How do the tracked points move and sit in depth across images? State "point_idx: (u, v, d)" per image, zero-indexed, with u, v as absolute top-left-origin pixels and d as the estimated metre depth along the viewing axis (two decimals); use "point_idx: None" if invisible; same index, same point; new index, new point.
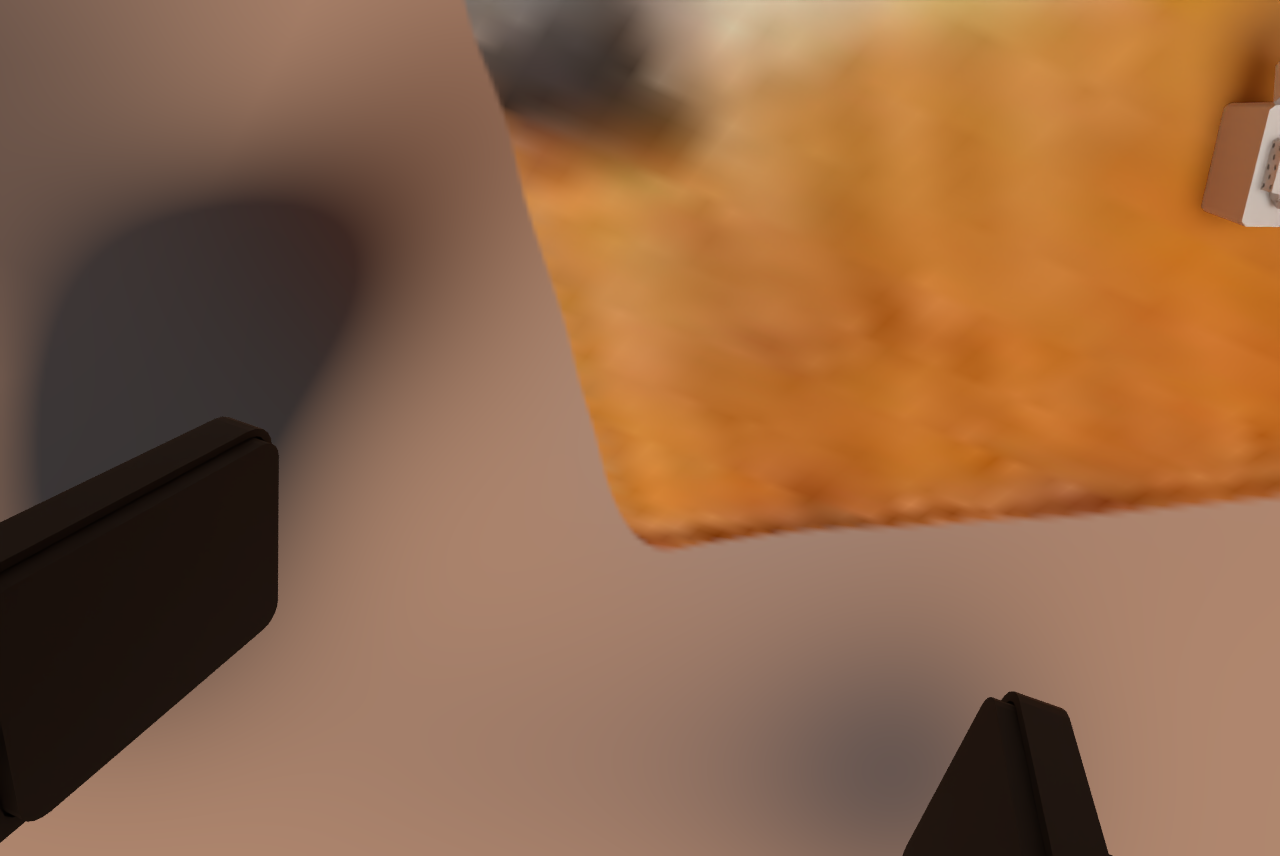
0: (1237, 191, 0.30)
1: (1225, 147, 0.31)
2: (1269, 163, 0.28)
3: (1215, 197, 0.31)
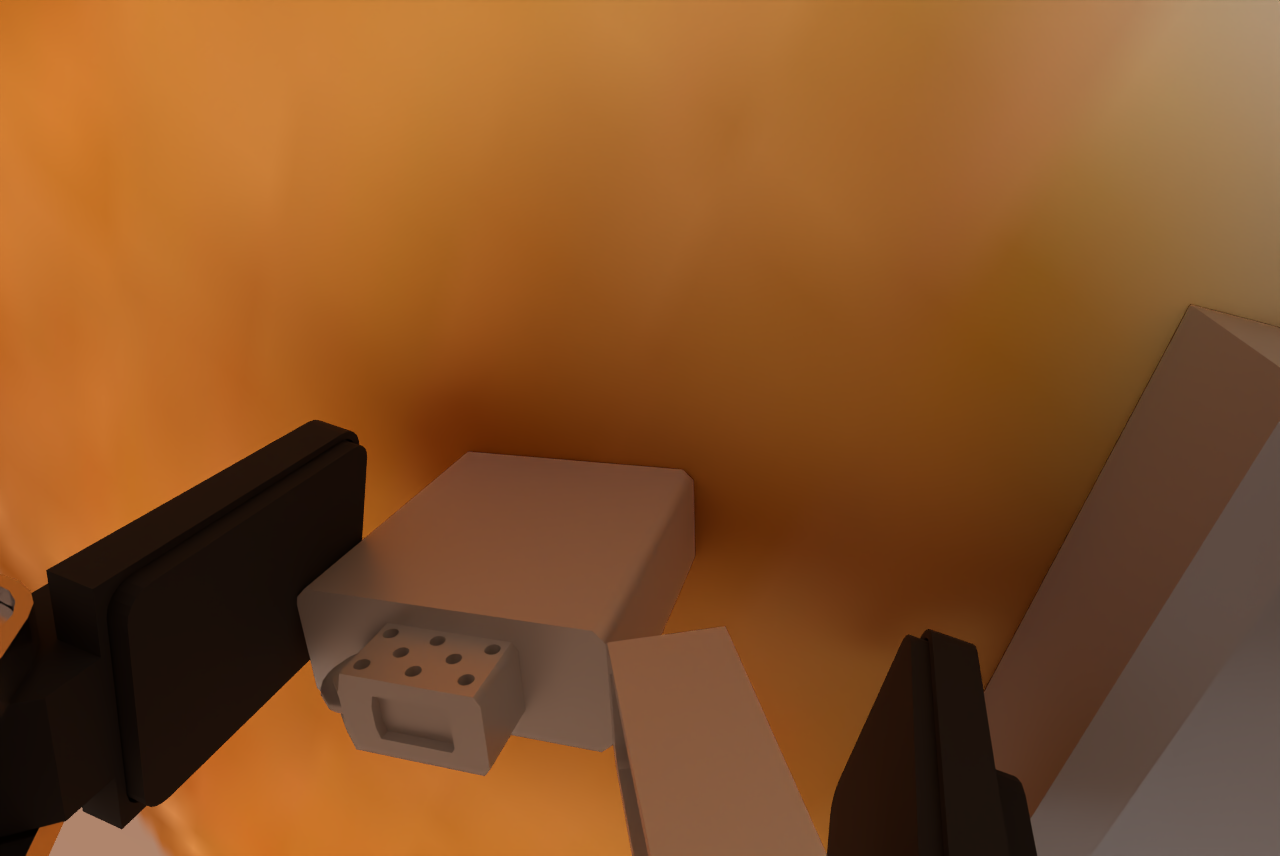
0: (415, 555, 0.10)
1: (574, 492, 0.12)
2: (444, 645, 0.09)
3: (457, 487, 0.12)
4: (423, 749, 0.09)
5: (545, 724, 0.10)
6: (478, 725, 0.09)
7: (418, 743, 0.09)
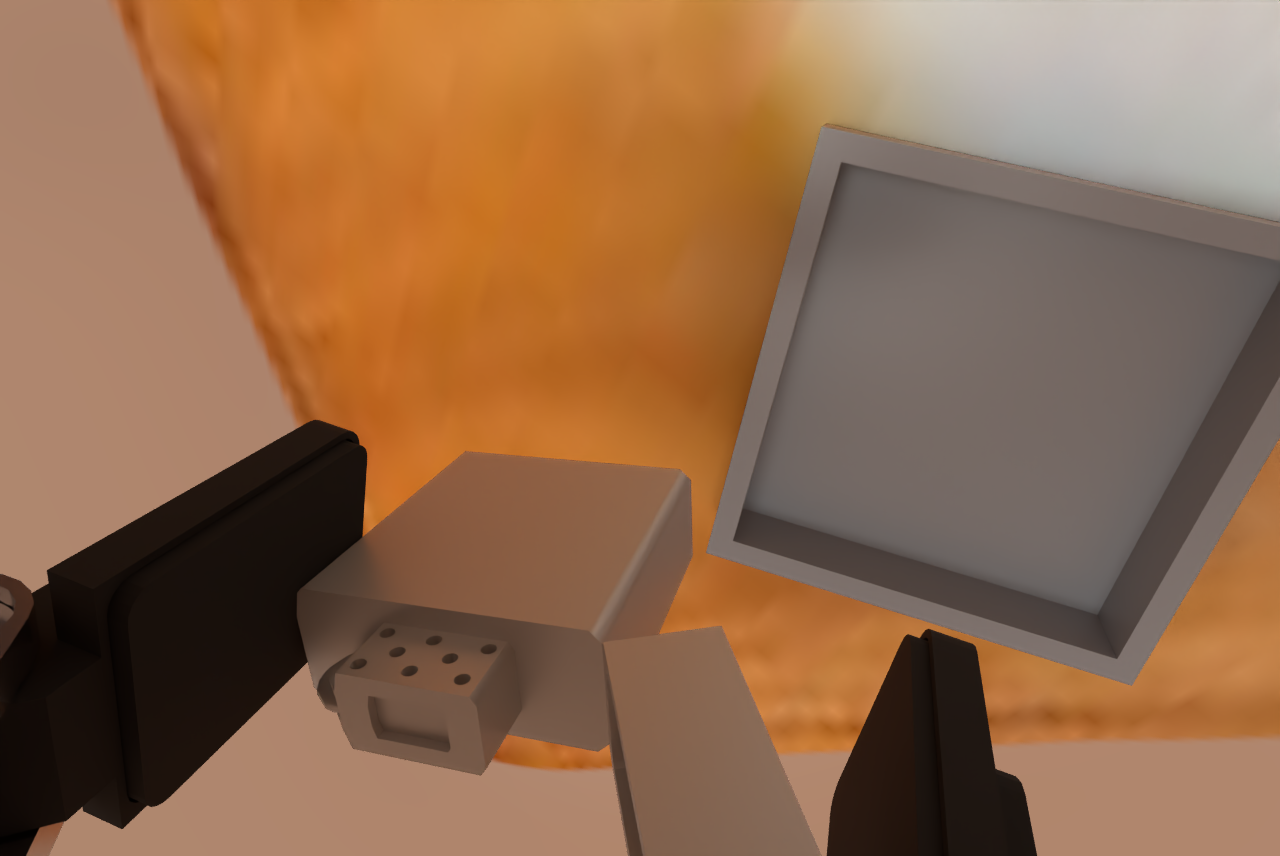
0: (411, 555, 0.10)
1: (571, 492, 0.12)
2: (440, 644, 0.09)
3: (454, 487, 0.12)
4: (419, 748, 0.09)
5: (541, 724, 0.10)
6: (474, 724, 0.09)
7: (414, 742, 0.09)
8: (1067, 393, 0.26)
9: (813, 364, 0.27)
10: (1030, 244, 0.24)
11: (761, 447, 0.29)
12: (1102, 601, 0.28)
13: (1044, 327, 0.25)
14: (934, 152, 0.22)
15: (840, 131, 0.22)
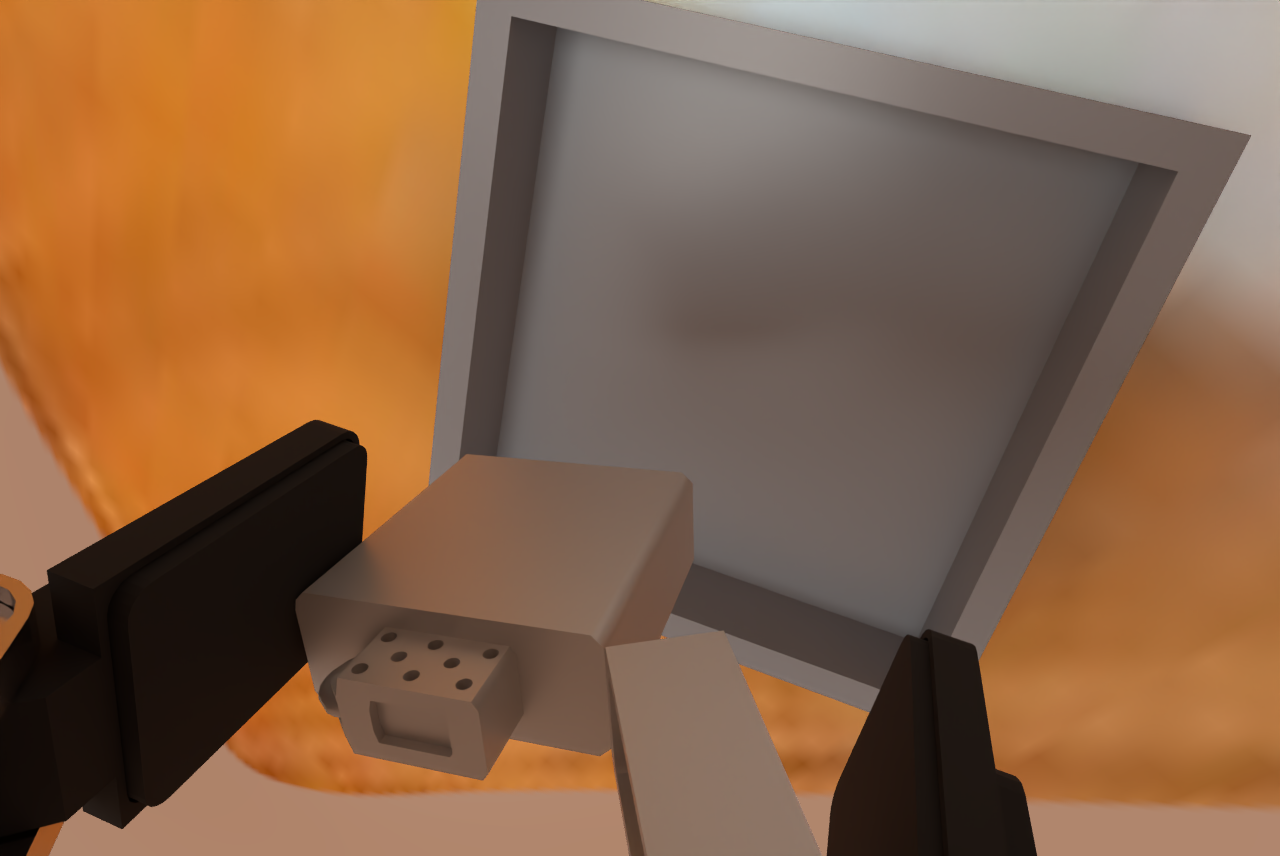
0: (413, 558, 0.10)
1: (573, 494, 0.12)
2: (442, 649, 0.09)
3: (456, 489, 0.12)
4: (421, 753, 0.09)
5: (544, 729, 0.10)
6: (476, 730, 0.09)
7: (416, 747, 0.09)
8: (859, 351, 0.19)
9: (551, 309, 0.21)
10: (798, 145, 0.18)
11: (502, 416, 0.23)
12: (922, 624, 0.22)
13: (824, 261, 0.19)
14: None
15: None
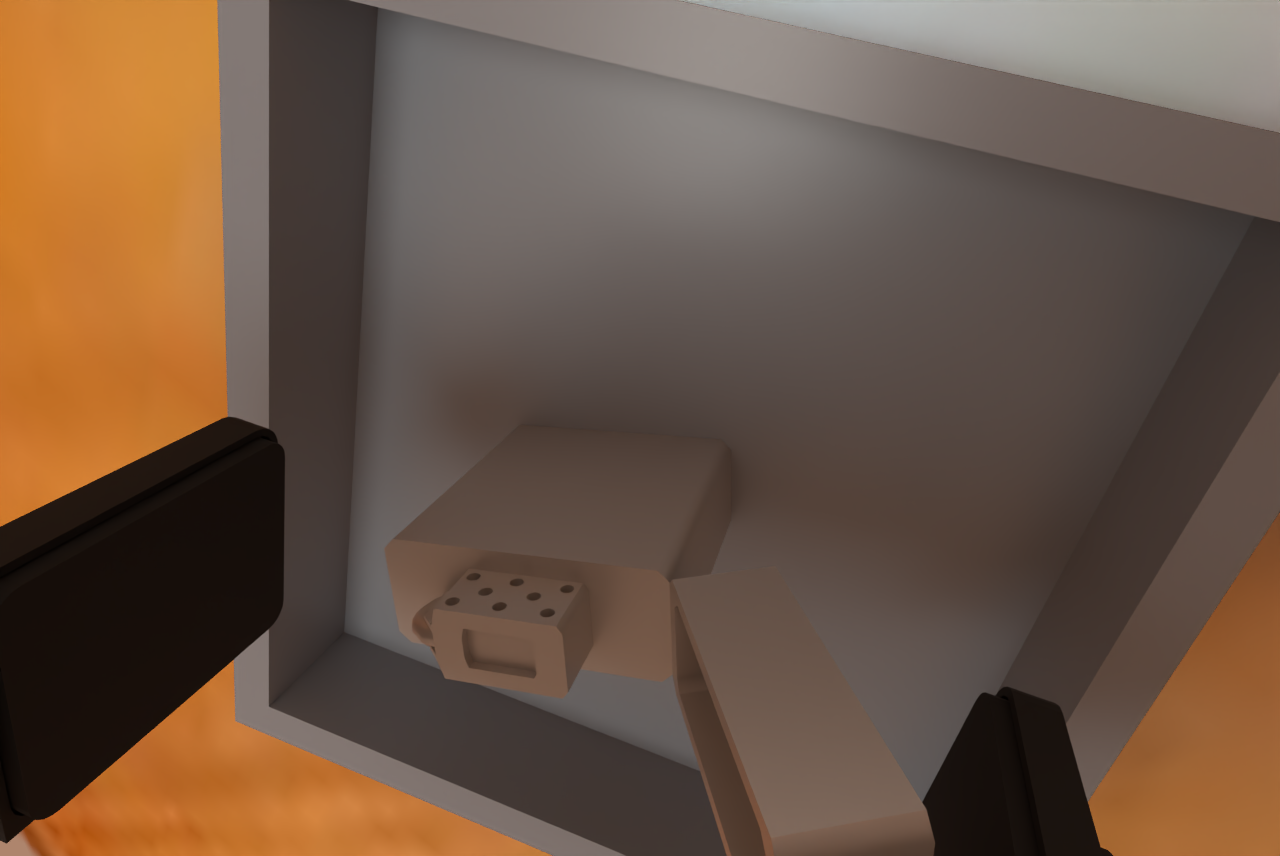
0: (487, 511, 0.12)
1: (624, 458, 0.13)
2: (523, 585, 0.10)
3: (516, 455, 0.13)
4: (507, 676, 0.10)
5: (611, 658, 0.11)
6: (559, 652, 0.10)
7: (502, 671, 0.10)
8: (827, 474, 0.13)
9: (401, 401, 0.15)
10: (732, 180, 0.12)
11: (350, 537, 0.17)
12: None
13: (775, 347, 0.13)
14: None
15: None
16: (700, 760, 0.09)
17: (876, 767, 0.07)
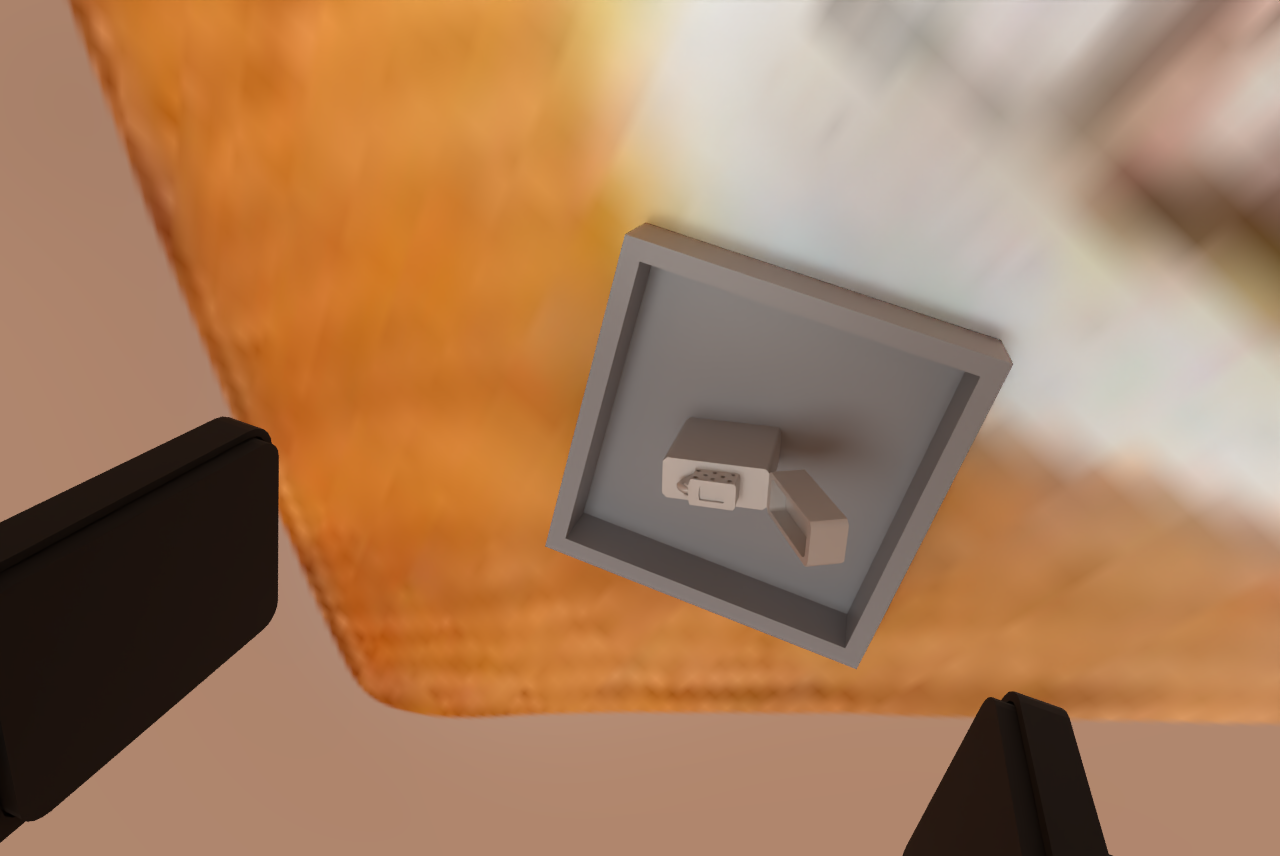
0: (696, 449, 0.31)
1: (740, 433, 0.33)
2: (717, 473, 0.30)
3: (695, 429, 0.33)
4: (713, 503, 0.30)
5: (744, 501, 0.31)
6: (733, 493, 0.29)
7: (711, 501, 0.30)
8: (820, 442, 0.33)
9: (635, 404, 0.35)
10: (791, 329, 0.32)
11: (597, 465, 0.37)
12: (851, 604, 0.36)
13: (802, 391, 0.33)
14: (704, 261, 0.29)
15: (638, 239, 0.30)
16: (780, 526, 0.29)
17: (835, 511, 0.27)
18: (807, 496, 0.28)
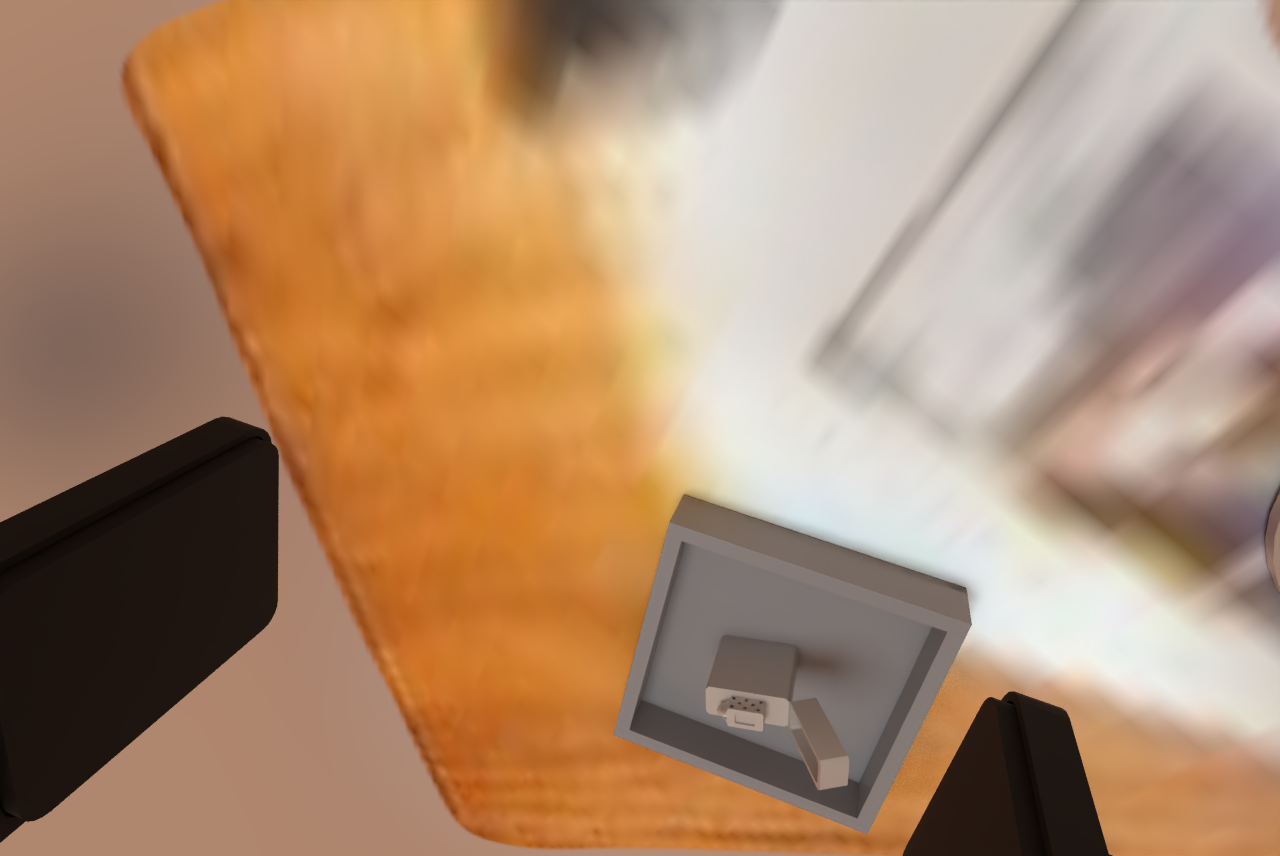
0: (731, 676, 0.40)
1: (765, 653, 0.42)
2: (748, 701, 0.39)
3: (729, 650, 0.42)
4: (746, 725, 0.39)
5: (770, 719, 0.39)
6: (761, 720, 0.38)
7: (744, 724, 0.39)
8: (829, 657, 0.42)
9: (681, 623, 0.44)
10: None
11: (651, 666, 0.46)
12: (862, 774, 0.44)
13: (813, 620, 0.41)
14: (731, 543, 0.38)
15: (680, 525, 0.39)
16: (799, 747, 0.38)
17: (839, 747, 0.36)
18: (818, 730, 0.37)
